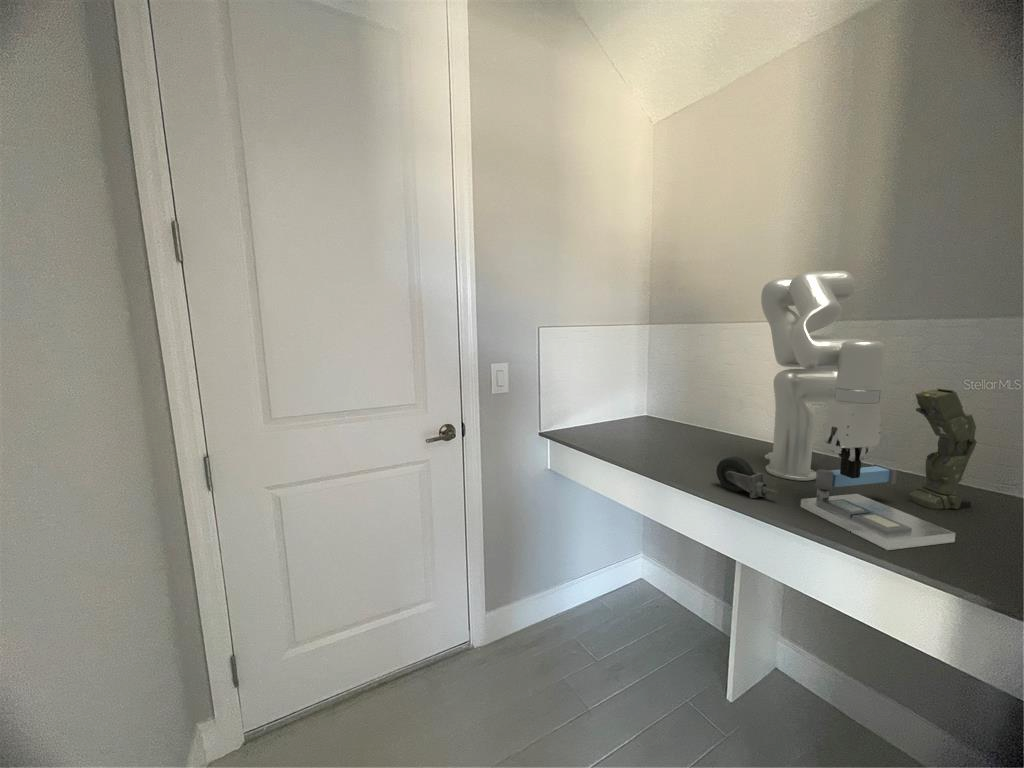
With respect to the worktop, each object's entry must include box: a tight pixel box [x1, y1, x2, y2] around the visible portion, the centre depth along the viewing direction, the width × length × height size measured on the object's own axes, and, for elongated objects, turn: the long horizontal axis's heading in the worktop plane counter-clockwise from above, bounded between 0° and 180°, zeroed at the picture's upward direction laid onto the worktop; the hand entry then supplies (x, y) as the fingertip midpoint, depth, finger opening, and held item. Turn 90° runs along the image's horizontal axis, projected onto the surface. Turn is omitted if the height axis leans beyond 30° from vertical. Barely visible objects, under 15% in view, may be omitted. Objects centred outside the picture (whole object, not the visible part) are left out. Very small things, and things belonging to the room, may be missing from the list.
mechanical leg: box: [908, 387, 977, 510], centre depth 97 cm, size 14×7×30 cm, turn 92°
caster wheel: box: [715, 456, 779, 499], centre depth 107 cm, size 6×10×15 cm
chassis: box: [800, 487, 957, 551], centre depth 90 cm, size 20×16×5 cm
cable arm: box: [814, 463, 898, 491], centre depth 99 cm, size 20×4×4 cm, turn 100°
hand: (849, 475), depth 91 cm, fingers closed
